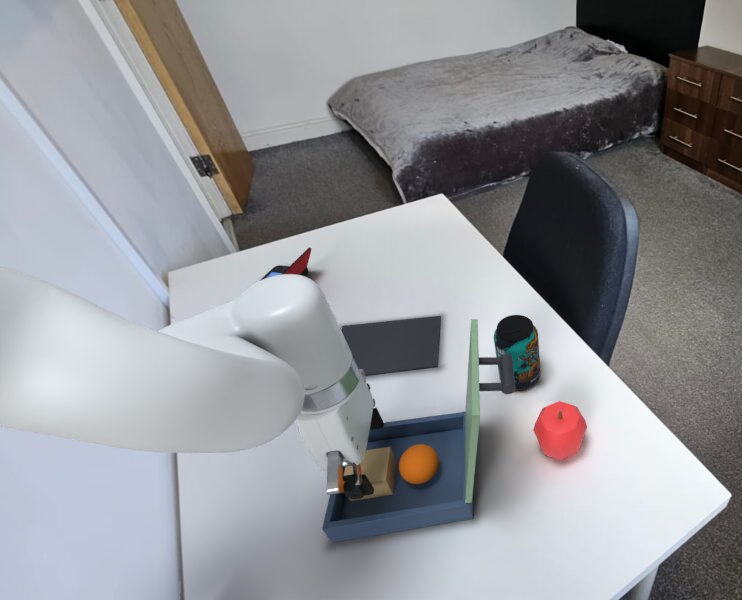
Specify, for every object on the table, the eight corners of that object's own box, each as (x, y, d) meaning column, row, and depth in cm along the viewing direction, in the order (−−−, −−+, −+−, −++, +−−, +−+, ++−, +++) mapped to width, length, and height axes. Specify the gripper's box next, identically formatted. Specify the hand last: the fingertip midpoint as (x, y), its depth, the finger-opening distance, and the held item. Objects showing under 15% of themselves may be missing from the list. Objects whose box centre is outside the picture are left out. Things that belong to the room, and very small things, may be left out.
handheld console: (278, 268, 102) (263, 240, 97) (324, 274, 101) (312, 245, 96) (237, 306, 92) (219, 276, 88) (288, 312, 92) (273, 283, 87)
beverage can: (546, 384, 80) (544, 335, 72) (507, 398, 78) (500, 348, 70) (531, 356, 85) (528, 307, 77) (494, 368, 82) (486, 319, 74)
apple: (562, 477, 67) (561, 447, 62) (523, 444, 71) (520, 413, 66) (597, 441, 72) (599, 409, 67) (559, 412, 76) (558, 380, 70)
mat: (328, 380, 79) (327, 378, 79) (343, 327, 89) (342, 325, 89) (437, 367, 82) (437, 365, 82) (440, 317, 92) (440, 315, 92)
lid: (472, 415, 48) (520, 413, 50) (471, 319, 59) (511, 319, 60) (465, 503, 60) (504, 500, 61) (465, 409, 70) (499, 408, 72)
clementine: (401, 494, 64) (392, 474, 61) (405, 459, 68) (397, 439, 64) (441, 487, 65) (434, 468, 61) (442, 454, 69) (436, 434, 65)
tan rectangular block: (350, 501, 63) (341, 487, 60) (356, 467, 67) (348, 452, 64) (393, 494, 64) (385, 480, 61) (397, 461, 68) (390, 446, 65)
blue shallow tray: (332, 543, 60) (321, 529, 57) (352, 443, 71) (344, 427, 68) (473, 518, 63) (468, 504, 60) (472, 426, 73) (468, 410, 71)
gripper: (303, 326, 57) (349, 409, 68) (257, 455, 44) (322, 530, 56) (369, 318, 58) (402, 401, 69) (342, 442, 45) (388, 518, 57)
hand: (367, 458), depth 62 cm, fingers open, 9 cm apart
